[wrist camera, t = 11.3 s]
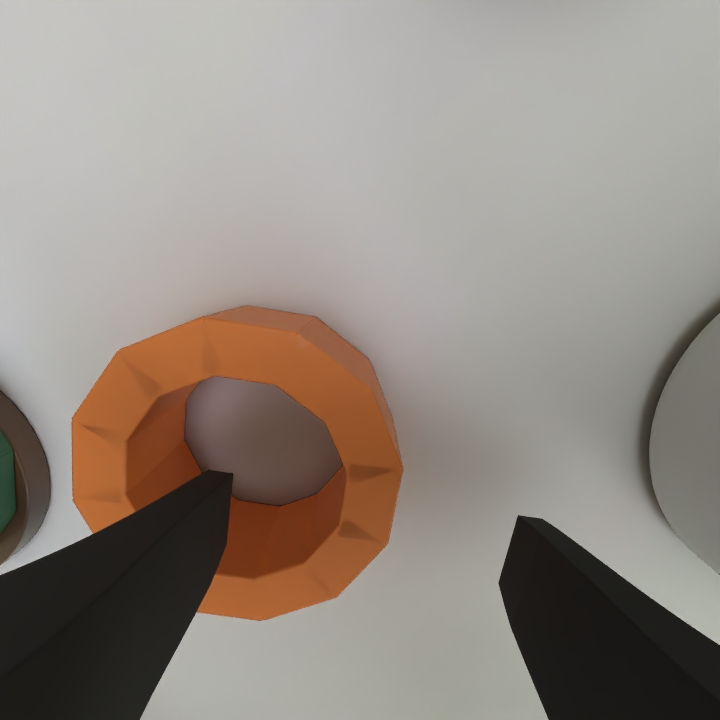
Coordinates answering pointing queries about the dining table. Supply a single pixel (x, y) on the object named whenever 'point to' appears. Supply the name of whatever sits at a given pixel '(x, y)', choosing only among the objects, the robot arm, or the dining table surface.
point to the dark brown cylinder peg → (23, 480)
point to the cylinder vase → (691, 447)
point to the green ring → (6, 483)
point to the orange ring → (246, 520)
